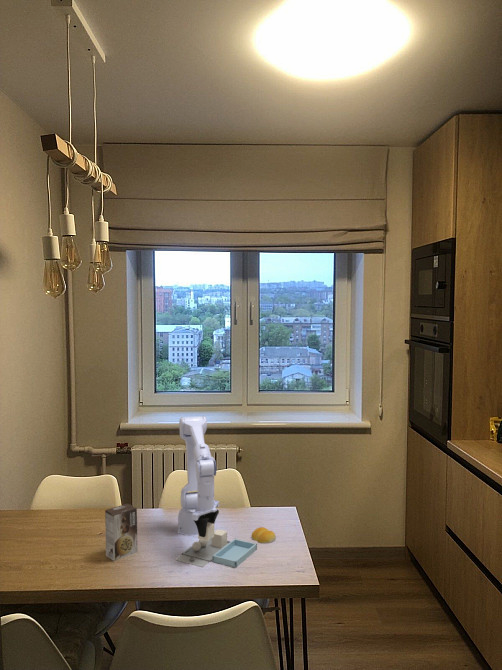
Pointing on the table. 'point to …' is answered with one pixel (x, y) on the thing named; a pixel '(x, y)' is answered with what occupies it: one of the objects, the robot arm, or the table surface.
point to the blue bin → (234, 553)
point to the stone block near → (208, 532)
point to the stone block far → (219, 538)
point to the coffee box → (121, 531)
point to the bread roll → (263, 535)
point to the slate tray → (199, 555)
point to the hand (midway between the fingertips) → (205, 533)
